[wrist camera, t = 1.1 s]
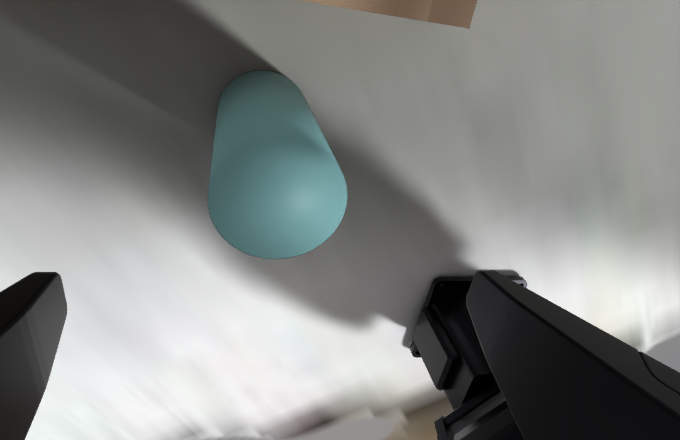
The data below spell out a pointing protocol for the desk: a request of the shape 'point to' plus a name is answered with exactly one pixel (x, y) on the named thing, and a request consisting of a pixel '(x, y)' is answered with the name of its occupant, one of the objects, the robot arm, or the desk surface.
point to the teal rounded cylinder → (272, 170)
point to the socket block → (414, 9)
